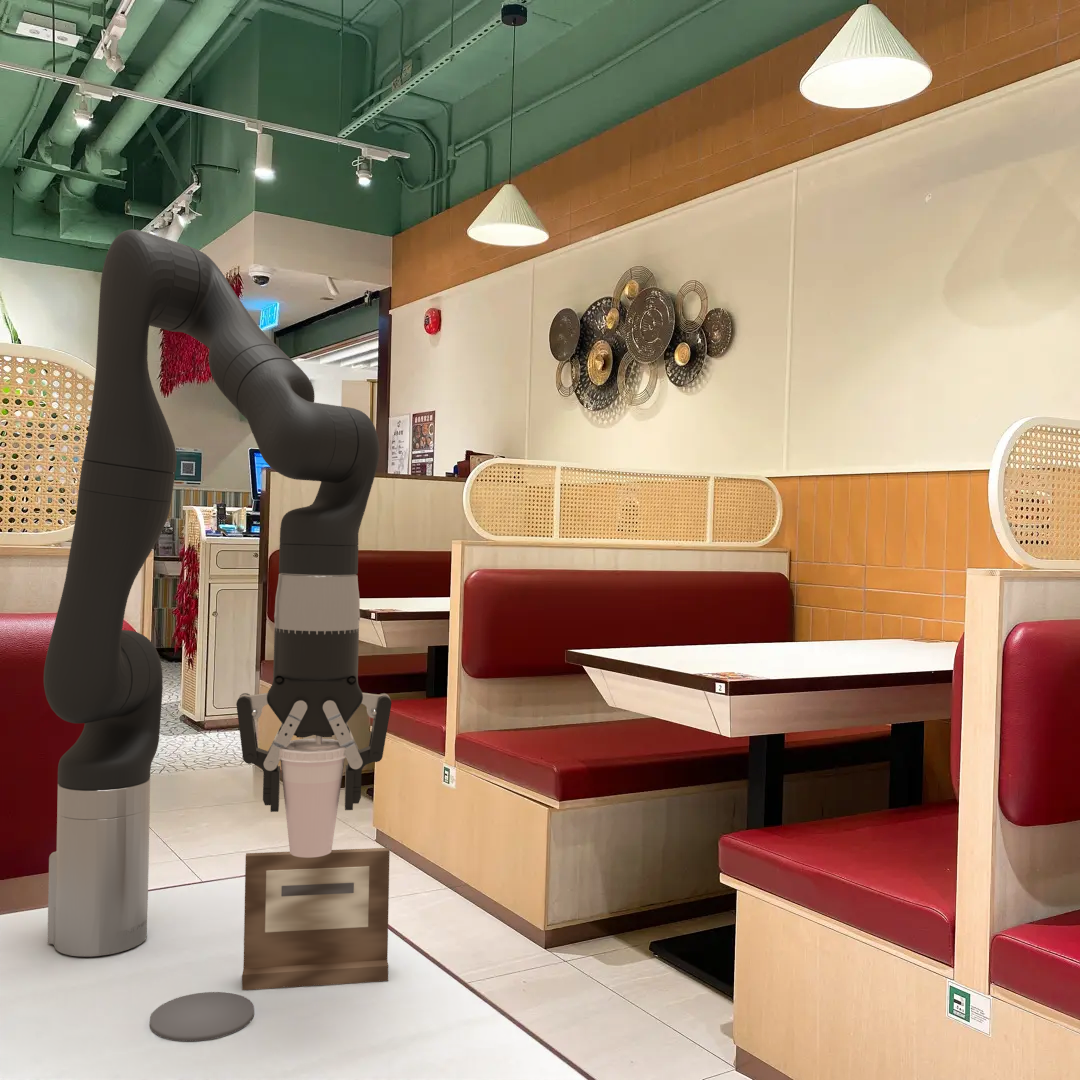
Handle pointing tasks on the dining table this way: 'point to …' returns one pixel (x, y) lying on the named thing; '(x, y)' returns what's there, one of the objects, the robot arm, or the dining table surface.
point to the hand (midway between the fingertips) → (312, 808)
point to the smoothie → (311, 793)
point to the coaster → (202, 1016)
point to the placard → (316, 918)
